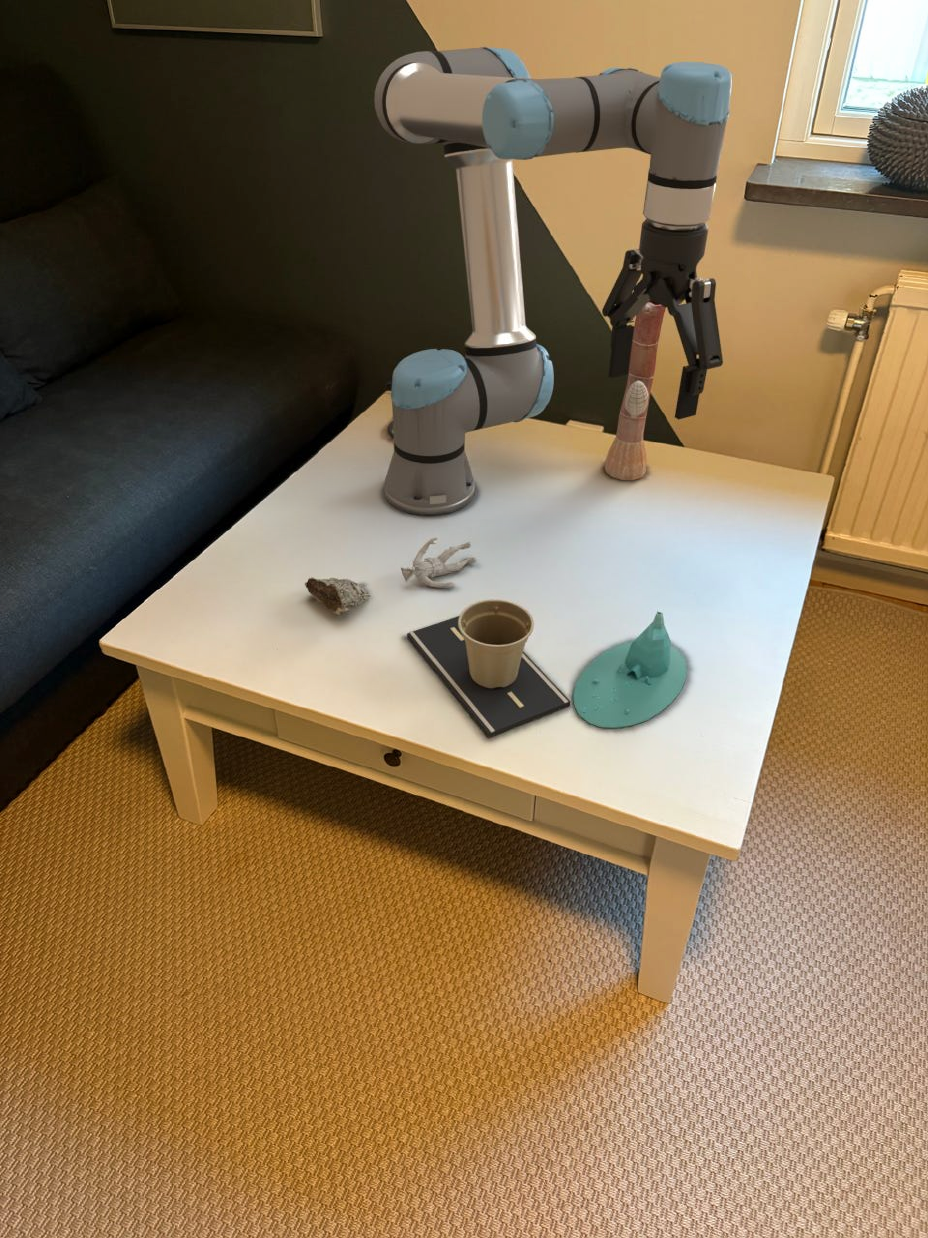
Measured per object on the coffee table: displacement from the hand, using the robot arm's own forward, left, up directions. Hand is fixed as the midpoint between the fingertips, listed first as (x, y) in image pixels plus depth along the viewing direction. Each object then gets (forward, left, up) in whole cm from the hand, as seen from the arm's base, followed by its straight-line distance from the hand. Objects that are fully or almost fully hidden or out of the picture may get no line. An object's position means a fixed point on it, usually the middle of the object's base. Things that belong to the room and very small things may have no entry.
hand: (650, 395), depth 121 cm
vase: (-29, +23, -31) cm, 48 cm away
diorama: (+17, -11, -31) cm, 37 cm away
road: (+6, -27, -31) cm, 41 cm away
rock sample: (-17, -38, -31) cm, 52 cm away
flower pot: (+8, -27, -30) cm, 41 cm away
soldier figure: (-16, -22, -31) cm, 41 cm away
